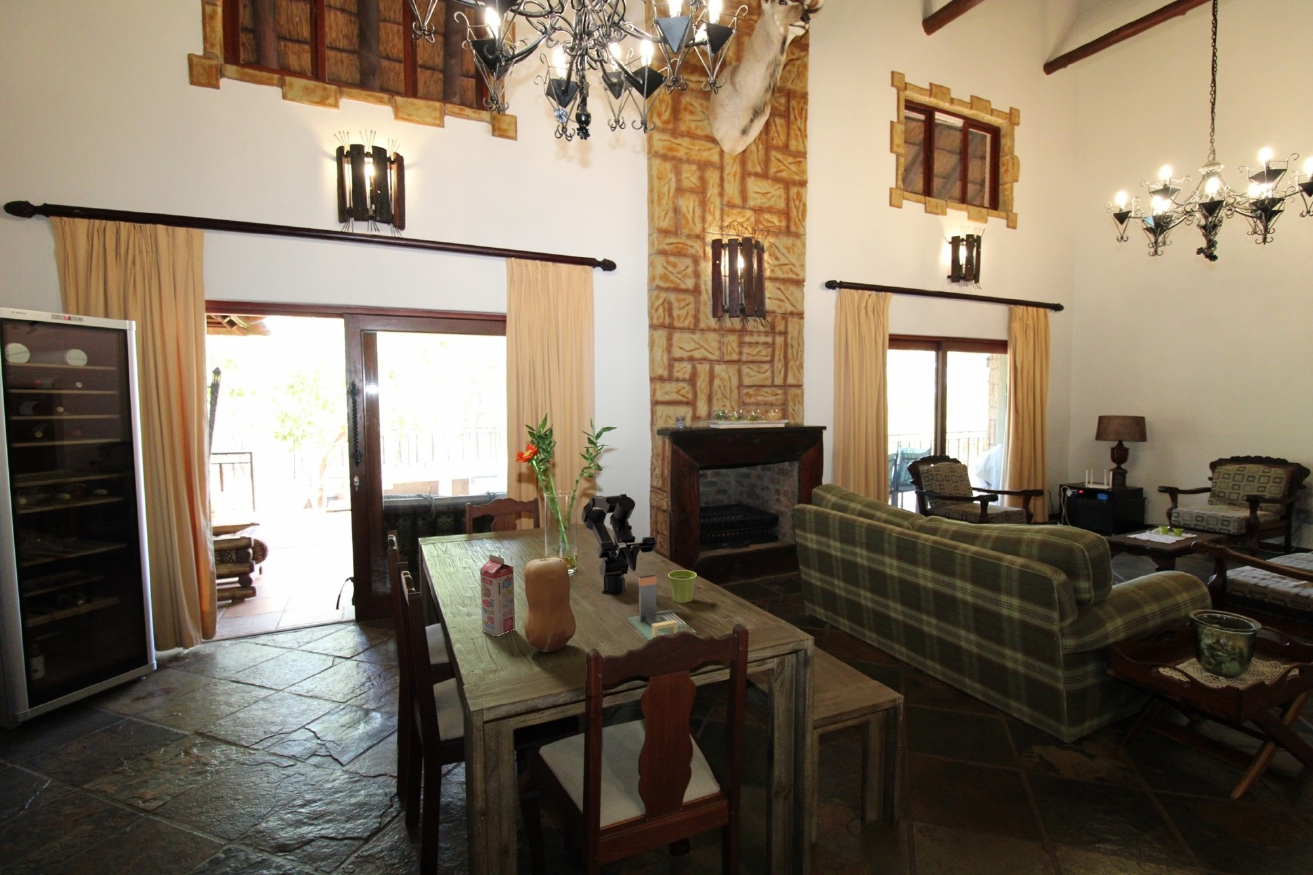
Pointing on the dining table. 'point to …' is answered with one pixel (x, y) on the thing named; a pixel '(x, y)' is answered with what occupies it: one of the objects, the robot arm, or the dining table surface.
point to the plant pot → (682, 585)
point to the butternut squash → (548, 604)
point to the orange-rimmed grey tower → (649, 600)
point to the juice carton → (497, 596)
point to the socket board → (649, 629)
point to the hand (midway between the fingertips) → (634, 570)
